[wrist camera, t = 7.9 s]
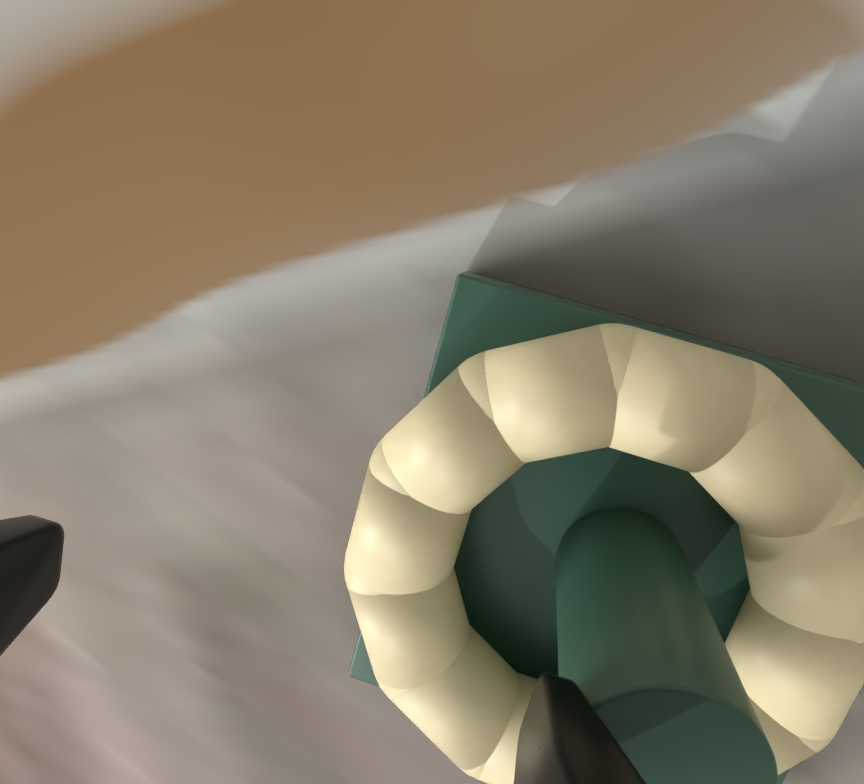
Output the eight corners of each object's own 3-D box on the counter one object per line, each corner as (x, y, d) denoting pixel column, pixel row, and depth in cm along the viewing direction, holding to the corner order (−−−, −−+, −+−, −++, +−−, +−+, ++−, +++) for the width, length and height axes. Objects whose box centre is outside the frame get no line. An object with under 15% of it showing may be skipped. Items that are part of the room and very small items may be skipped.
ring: (736, 816, 13) (770, 917, 11) (325, 668, 14) (290, 736, 12) (944, 409, 10) (1034, 447, 9) (431, 264, 11) (408, 267, 9)
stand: (743, 778, 14) (890, 1174, 8) (362, 643, 15) (241, 908, 9) (932, 403, 12) (1343, 569, 6) (465, 269, 12) (394, 292, 7)
